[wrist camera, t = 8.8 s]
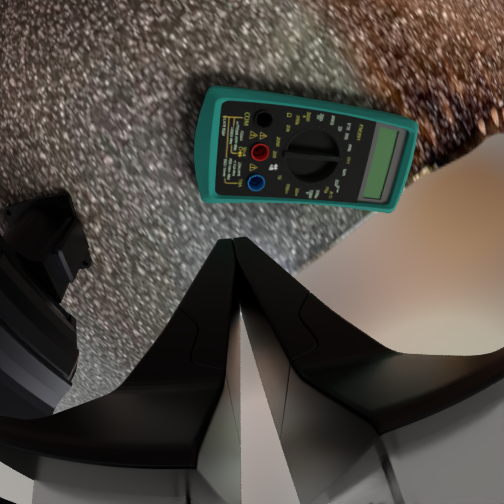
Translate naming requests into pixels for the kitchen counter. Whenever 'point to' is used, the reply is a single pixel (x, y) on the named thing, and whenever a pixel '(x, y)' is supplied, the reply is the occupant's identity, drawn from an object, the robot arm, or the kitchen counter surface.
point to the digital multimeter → (300, 151)
